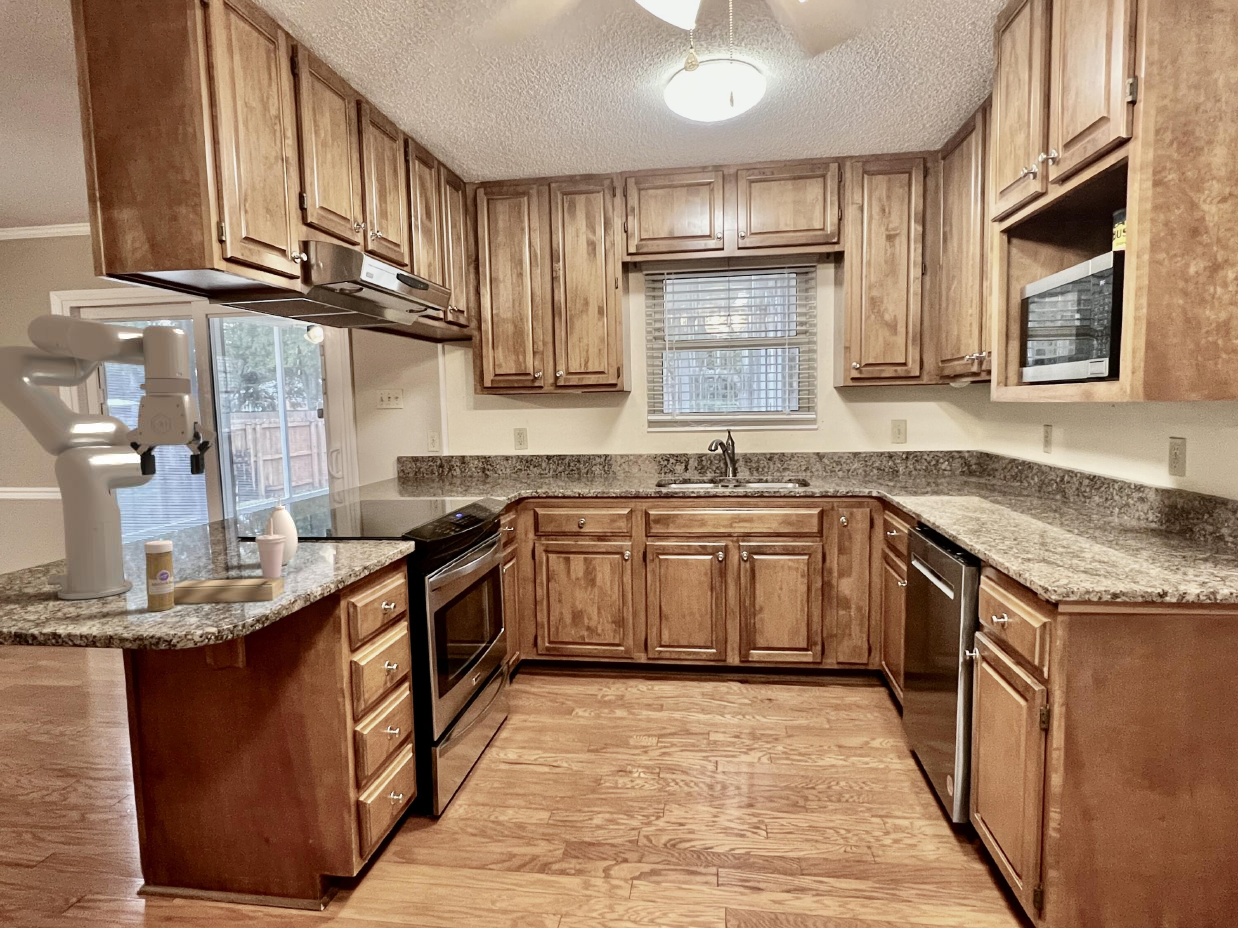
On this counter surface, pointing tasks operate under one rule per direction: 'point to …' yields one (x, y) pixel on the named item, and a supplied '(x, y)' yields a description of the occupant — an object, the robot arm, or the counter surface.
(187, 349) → the robot arm
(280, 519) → the sauce bottle
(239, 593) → the maple board
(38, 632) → the counter surface
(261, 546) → the smoothie
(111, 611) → the counter surface
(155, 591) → the sprinkles bottle
